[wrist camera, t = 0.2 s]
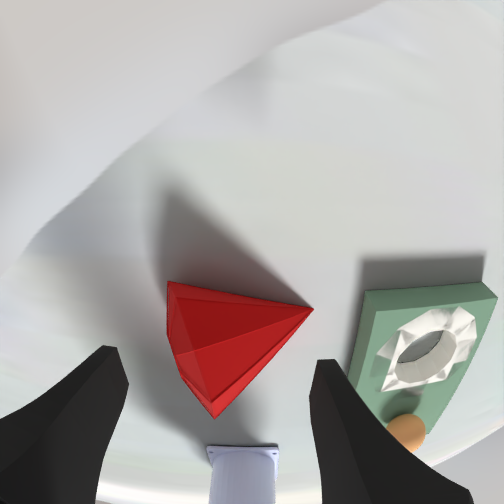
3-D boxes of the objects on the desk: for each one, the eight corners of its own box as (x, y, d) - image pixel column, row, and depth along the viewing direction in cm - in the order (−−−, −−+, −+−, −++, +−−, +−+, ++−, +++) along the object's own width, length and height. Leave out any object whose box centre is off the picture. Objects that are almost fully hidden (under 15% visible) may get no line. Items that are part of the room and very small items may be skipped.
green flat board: (422, 417, 27) (428, 433, 25) (331, 433, 28) (334, 451, 25) (482, 281, 20) (498, 297, 17) (365, 290, 20) (376, 311, 18)
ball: (410, 425, 24) (421, 456, 20) (374, 432, 24) (383, 466, 20) (424, 401, 22) (438, 434, 18) (385, 409, 22) (397, 445, 19)
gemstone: (330, 232, 17) (151, 279, 14) (367, 373, 17) (207, 444, 13) (273, 255, 25) (153, 287, 22) (301, 355, 25) (187, 396, 22)
